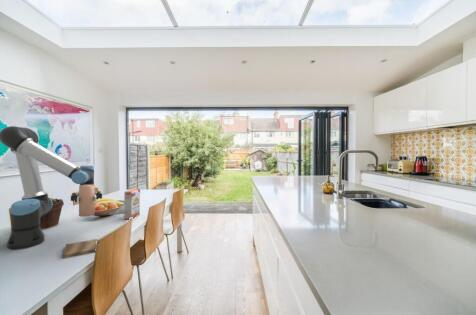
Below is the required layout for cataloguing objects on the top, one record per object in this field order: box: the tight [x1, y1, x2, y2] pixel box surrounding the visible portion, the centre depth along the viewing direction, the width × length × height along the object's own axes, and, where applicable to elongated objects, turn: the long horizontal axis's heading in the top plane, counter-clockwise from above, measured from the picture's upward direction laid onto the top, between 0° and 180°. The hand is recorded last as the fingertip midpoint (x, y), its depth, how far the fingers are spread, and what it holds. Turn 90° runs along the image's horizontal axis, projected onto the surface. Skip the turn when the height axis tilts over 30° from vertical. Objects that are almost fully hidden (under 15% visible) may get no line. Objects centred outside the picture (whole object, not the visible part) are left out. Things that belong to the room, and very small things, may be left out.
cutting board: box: [62, 238, 98, 259], centre depth 117 cm, size 14×14×2 cm
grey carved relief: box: [110, 206, 124, 216], centre depth 186 cm, size 16×25×7 cm, turn 119°
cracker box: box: [123, 188, 141, 220], centre depth 172 cm, size 14×6×21 cm, turn 179°
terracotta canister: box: [78, 184, 96, 218], centre depth 121 cm, size 7×7×16 cm
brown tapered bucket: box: [40, 198, 65, 230], centre depth 150 cm, size 18×20×18 cm
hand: (86, 200), depth 117 cm, fingers closed on terracotta canister, 7 cm apart
